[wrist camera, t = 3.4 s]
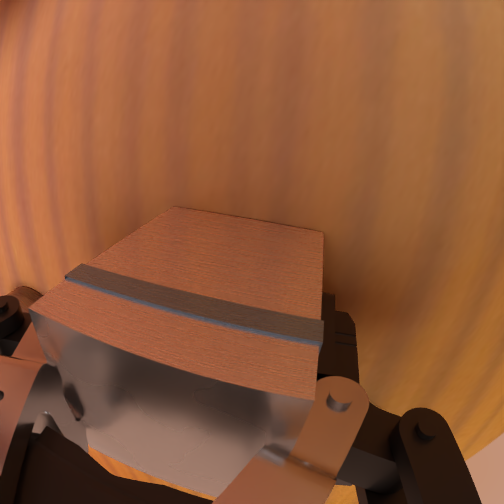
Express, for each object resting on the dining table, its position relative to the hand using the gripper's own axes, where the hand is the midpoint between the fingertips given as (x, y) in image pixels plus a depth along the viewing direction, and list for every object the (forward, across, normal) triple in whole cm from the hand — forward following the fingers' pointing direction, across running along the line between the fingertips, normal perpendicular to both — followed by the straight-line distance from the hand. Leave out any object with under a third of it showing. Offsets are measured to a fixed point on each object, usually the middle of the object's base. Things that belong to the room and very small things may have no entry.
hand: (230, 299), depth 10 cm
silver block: (+1, 0, 0) cm, 1 cm away
